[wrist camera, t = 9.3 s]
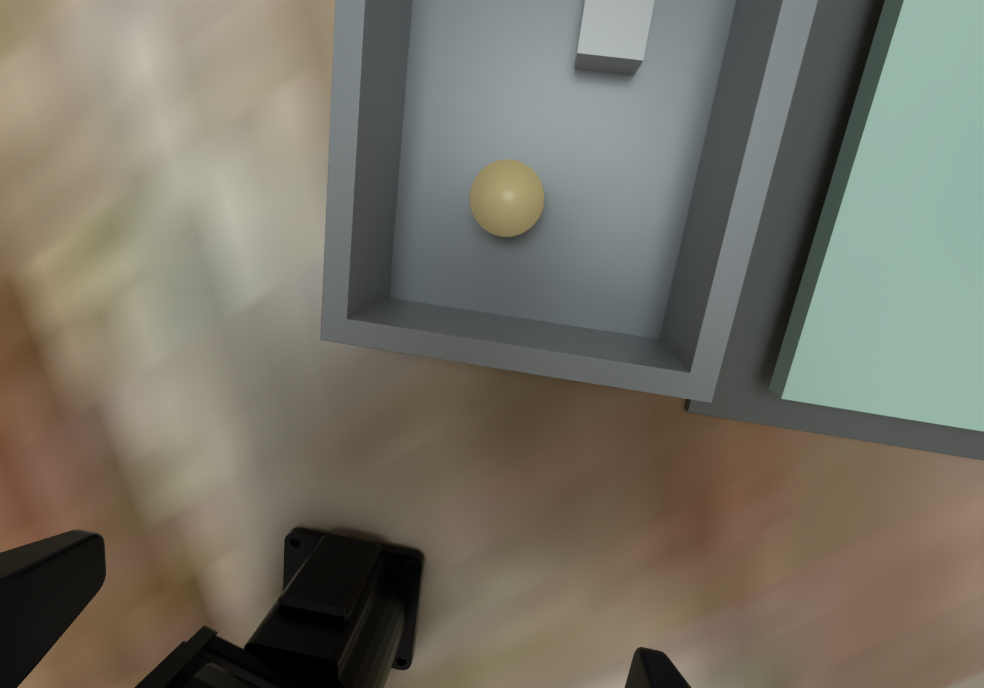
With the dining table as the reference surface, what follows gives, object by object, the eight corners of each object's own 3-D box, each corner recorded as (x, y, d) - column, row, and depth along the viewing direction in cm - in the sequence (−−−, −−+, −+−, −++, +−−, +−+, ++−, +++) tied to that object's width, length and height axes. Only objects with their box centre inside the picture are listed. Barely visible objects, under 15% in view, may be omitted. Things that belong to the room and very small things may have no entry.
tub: (670, 357, 19) (711, 403, 15) (374, 311, 20) (320, 340, 16) (787, -136, 15) (896, -298, 11) (408, -167, 16) (350, -329, 11)
